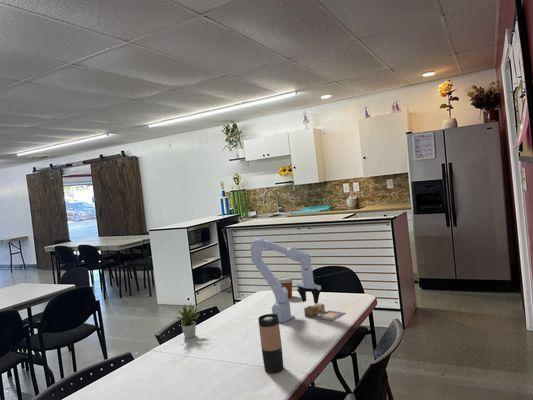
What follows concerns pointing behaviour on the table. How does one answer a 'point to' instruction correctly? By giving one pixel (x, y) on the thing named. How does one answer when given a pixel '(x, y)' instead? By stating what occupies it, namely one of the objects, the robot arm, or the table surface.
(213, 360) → the table surface
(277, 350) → the travel mug
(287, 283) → the disposable coffee cup
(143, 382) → the table surface
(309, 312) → the walnut block
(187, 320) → the house plant
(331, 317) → the grey flat slab
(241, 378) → the table surface
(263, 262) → the robot arm
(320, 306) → the beech block
